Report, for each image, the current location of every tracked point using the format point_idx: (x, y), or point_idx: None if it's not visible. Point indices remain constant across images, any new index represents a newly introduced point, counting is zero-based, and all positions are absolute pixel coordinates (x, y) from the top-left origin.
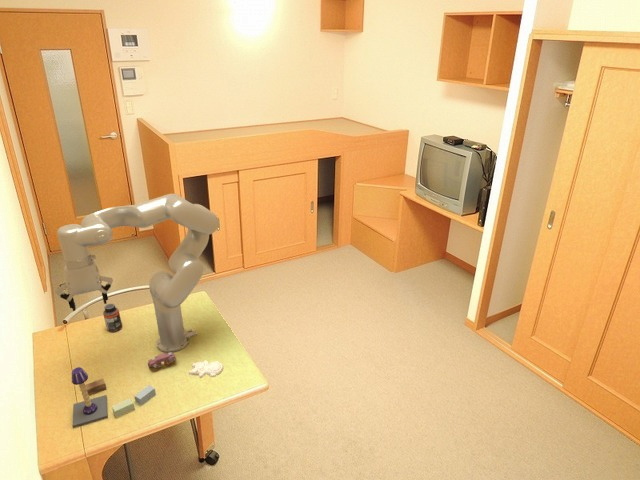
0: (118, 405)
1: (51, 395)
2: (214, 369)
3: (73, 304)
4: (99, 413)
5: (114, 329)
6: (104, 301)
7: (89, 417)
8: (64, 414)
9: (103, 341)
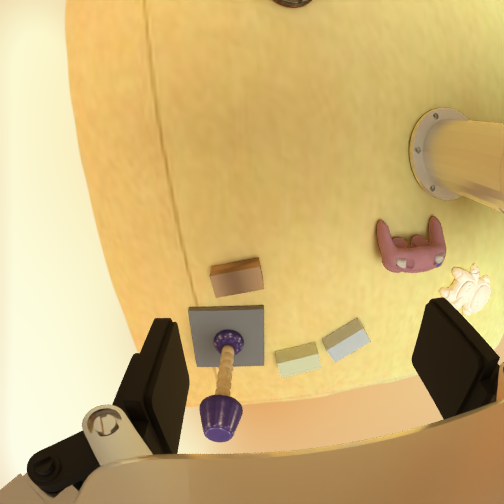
0: (290, 366)
1: (128, 249)
2: (476, 311)
3: (178, 432)
4: (248, 356)
5: (293, 4)
6: (424, 377)
7: None
8: None
9: (254, 40)
